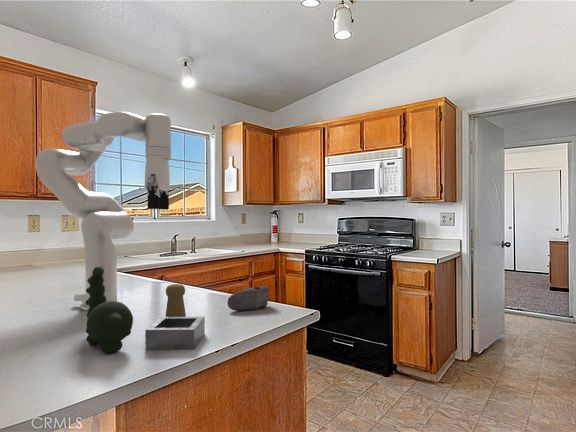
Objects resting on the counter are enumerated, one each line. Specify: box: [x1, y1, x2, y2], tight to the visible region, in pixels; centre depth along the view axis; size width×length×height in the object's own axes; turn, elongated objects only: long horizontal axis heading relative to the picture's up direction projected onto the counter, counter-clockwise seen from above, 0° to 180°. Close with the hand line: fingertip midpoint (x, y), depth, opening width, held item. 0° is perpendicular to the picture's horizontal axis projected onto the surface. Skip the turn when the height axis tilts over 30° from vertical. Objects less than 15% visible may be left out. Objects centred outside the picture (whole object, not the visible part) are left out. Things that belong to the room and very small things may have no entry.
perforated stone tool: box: [226, 285, 270, 312], centre depth 123 cm, size 15×5×7 cm, turn 118°
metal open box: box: [144, 316, 206, 351], centre depth 92 cm, size 11×11×4 cm
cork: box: [164, 283, 187, 317], centre depth 107 cm, size 6×6×11 cm
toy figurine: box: [85, 266, 134, 355], centre depth 90 cm, size 9×19×25 cm
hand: (158, 209), depth 120 cm, fingers open, 9 cm apart
